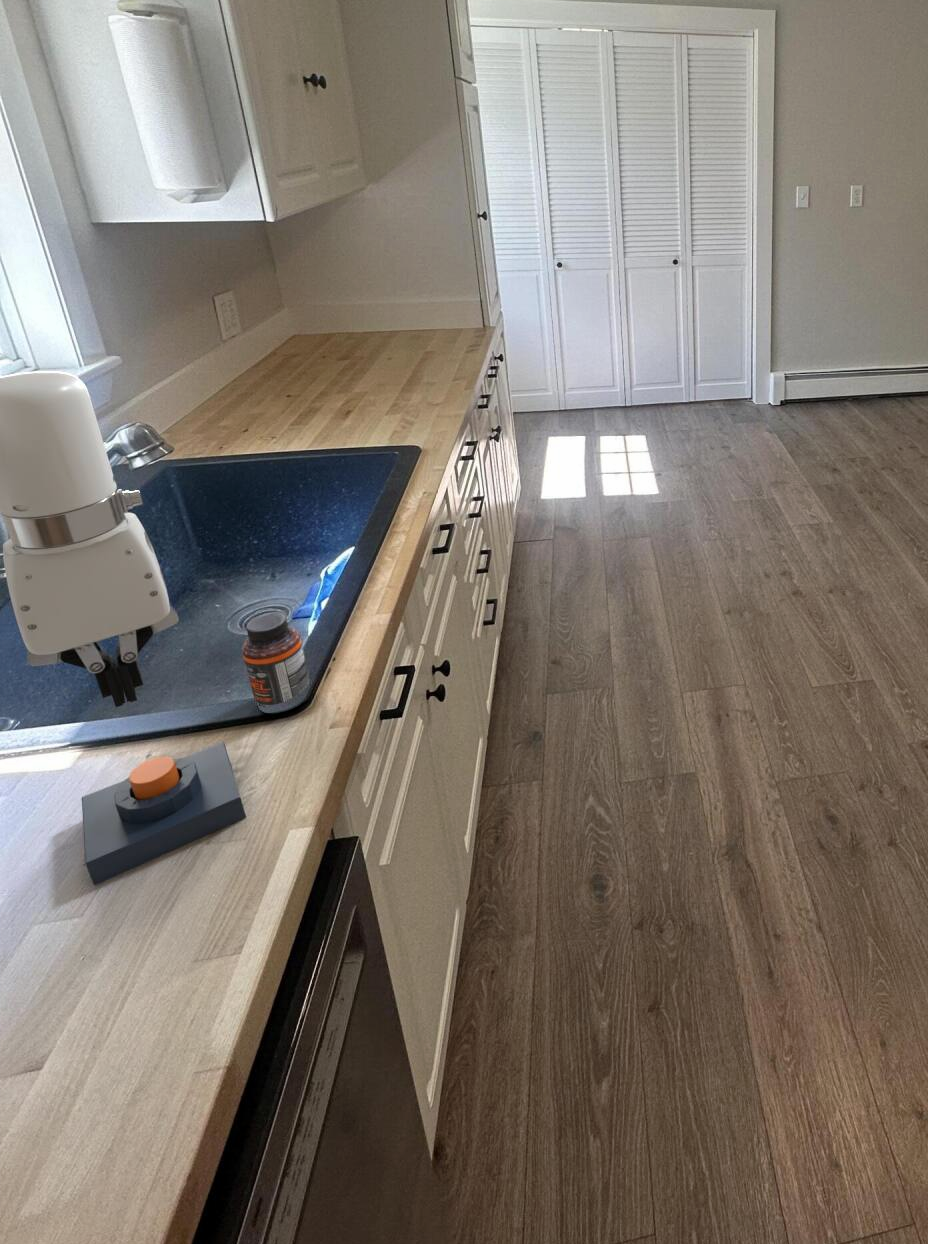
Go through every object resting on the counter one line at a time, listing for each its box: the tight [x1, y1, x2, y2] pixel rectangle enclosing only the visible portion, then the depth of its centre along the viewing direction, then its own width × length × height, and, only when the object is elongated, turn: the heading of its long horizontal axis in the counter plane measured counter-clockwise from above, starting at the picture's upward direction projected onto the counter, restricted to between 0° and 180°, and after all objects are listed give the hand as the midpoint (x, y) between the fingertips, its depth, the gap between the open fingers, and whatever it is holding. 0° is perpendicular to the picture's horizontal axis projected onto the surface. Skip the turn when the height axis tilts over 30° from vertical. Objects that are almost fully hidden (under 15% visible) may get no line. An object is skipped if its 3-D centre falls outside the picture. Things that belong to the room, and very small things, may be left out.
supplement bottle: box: [241, 611, 311, 707], centre depth 93 cm, size 6×6×11 cm
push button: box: [128, 755, 179, 800], centre depth 77 cm, size 4×4×2 cm
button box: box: [81, 741, 247, 886], centre depth 78 cm, size 12×10×4 cm
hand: (125, 696), depth 73 cm, fingers closed
